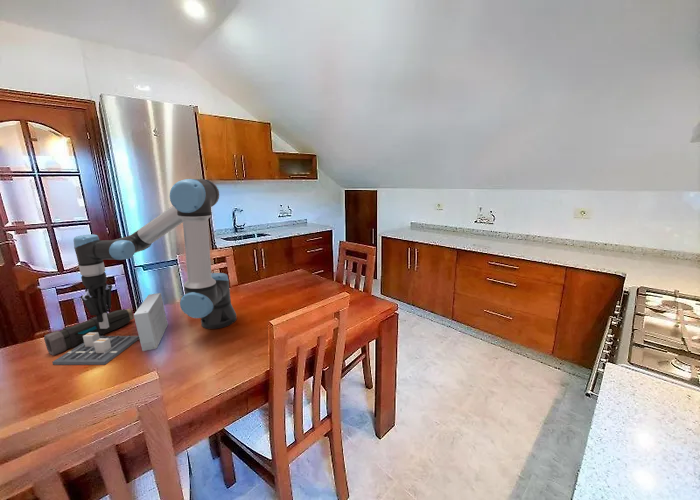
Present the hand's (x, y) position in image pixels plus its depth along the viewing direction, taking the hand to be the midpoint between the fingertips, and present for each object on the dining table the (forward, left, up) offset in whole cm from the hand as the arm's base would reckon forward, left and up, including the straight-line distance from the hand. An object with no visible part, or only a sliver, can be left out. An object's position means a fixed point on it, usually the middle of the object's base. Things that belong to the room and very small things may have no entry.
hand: (104, 327), depth 124 cm
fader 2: (-8, +11, -4) cm, 15 cm away
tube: (+6, -2, -5) cm, 8 cm away
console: (-4, +9, -5) cm, 11 cm away
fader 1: (0, +7, -4) cm, 8 cm away
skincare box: (-20, -1, -5) cm, 20 cm away
